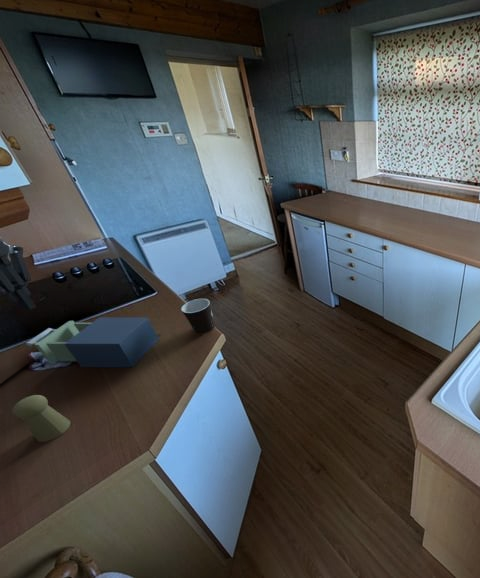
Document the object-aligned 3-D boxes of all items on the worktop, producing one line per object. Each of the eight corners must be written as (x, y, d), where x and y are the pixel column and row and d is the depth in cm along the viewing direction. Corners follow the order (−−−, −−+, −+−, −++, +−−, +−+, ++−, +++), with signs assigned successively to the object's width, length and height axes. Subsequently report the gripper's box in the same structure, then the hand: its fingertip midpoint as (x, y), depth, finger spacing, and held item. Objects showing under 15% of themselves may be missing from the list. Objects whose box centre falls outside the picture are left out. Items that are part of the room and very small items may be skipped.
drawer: (30, 363, 89) (14, 344, 85) (64, 338, 99) (51, 320, 95) (98, 363, 90) (85, 344, 86) (125, 338, 99) (114, 320, 95)
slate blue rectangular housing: (81, 367, 89) (63, 343, 84) (113, 339, 100) (99, 317, 95) (133, 367, 90) (118, 343, 85) (159, 339, 101) (147, 317, 95)
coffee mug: (213, 334, 103) (204, 311, 98) (187, 336, 102) (176, 313, 97) (223, 315, 113) (215, 293, 108) (199, 316, 112) (190, 295, 106)
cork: (33, 432, 71) (3, 404, 66) (66, 415, 76) (40, 386, 70) (40, 447, 69) (8, 418, 63) (73, 427, 73) (47, 398, 67)
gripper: (-52, 243, 65) (15, 323, 78) (15, 222, 76) (64, 296, 89) (-83, 240, 65) (-11, 320, 79) (-12, 219, 76) (41, 293, 89)
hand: (29, 307), depth 84 cm, fingers closed
